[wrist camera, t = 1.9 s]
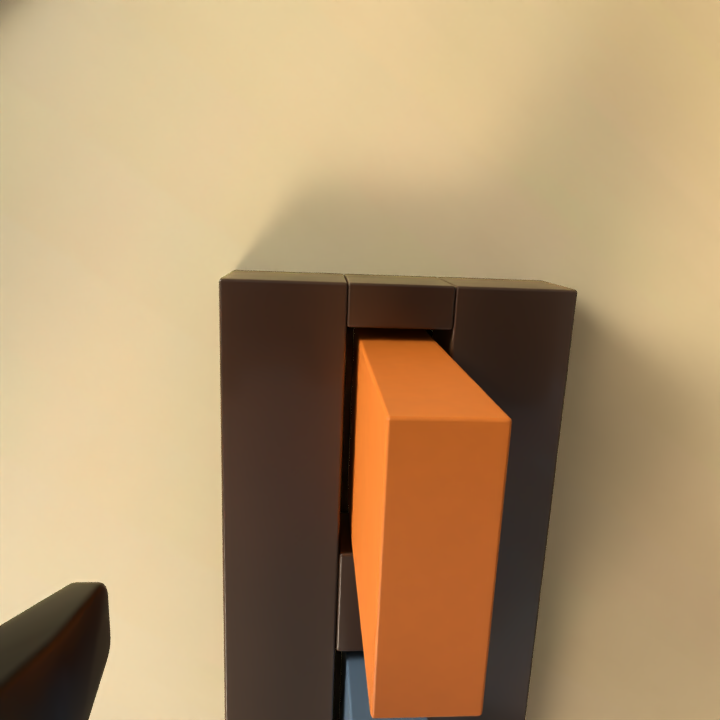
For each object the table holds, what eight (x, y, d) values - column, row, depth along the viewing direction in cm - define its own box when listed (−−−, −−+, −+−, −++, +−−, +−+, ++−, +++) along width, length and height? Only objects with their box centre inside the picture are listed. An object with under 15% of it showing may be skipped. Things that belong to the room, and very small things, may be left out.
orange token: (347, 501, 17) (370, 720, 9) (353, 324, 16) (386, 417, 8) (411, 501, 17) (483, 718, 10) (422, 326, 16) (514, 419, 8)
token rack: (236, 787, 19) (226, 861, 16) (232, 269, 15) (218, 278, 13) (488, 779, 19) (510, 849, 17) (542, 280, 16) (578, 289, 13)
